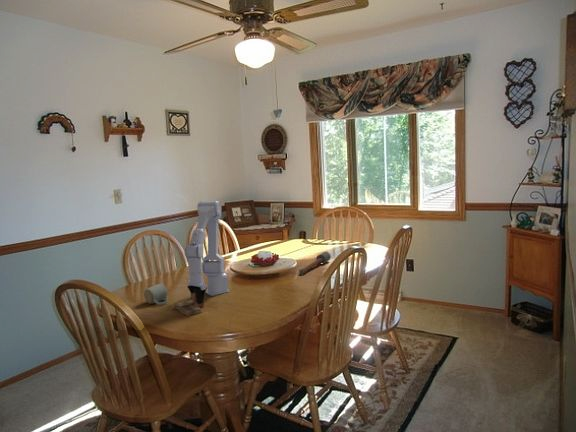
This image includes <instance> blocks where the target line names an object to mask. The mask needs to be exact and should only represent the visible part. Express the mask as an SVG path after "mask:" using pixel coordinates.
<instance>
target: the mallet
mask: <svg viewBox="0 0 576 432" xmlns="http://www.w3.org/2000/svg"><path fill="white" fill-rule="evenodd" d="M331 257H332V256H331V254H330V252H328V251H323V252H322V253H321V254H318V255H316V257H315V259H316V260H314V261H313V262H311V263H309V264H308V265H307V266H305V267H304V268H303V267H302V268H301V269H299V271H298V274H299V275H301V274H304V273H305V274H306V273H307V272H308V271H309V270H312V269H313V268H314V267H316V266H317V265H320V264H319V263H323V264H322V265H325V264H326V263H327V262H328V261H330V260H331ZM305 274H304V275H305Z"/></svg>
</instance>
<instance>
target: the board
mask: <svg viewBox="0 0 576 432" xmlns="http://www.w3.org/2000/svg"><path fill="white" fill-rule="evenodd" d="M185 301H186V300H184V301H183V300H182V302H185ZM180 302H181V301H179V302H175V303H174V306H173V307H174V308H175V309H176V310H178V311H179V312H180V313H182V314H184V315H185V316H186V317H191V316H194V315H197V314H201V313H202V309H201V308H202V307H201V308H199V307H197V306H196V305H194V304H192V303H191V304H187V305H183V306H180V305H179V303H180Z"/></svg>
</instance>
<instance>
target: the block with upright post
mask: <svg viewBox="0 0 576 432" xmlns="http://www.w3.org/2000/svg"><path fill="white" fill-rule="evenodd" d="M184 301H185V302H183V301H179V302H180V303H179V302H178V303H179V305H180V306H183V305H187V304H191V303H192V304H194V305H196V306H197V307H199V308H204V307H205V305H204V302H205V301H203V303H201V304H198V302H197V298H196V294H195V293H191V292H190V299H189V300H184Z"/></svg>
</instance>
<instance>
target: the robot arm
mask: <svg viewBox="0 0 576 432" xmlns="http://www.w3.org/2000/svg"><path fill="white" fill-rule="evenodd" d="M196 209H197V210H196V211H197V214H198V219H197V224H196V229H194V230H193V231H192V235H191V237H190V239H189V240H190V241H189V243H188V245H186V246H185V249H184V255H185V259H186V262H187V265H188V276H189V277H188V278H187V283H186V284H187V289H188V291H189V292H190V294H191V293H195V294H196V298H197V302H198V304H201V303H203V302H204V299H205V294H208V295H209V296H210V297H212V296H213V297H214V296H217V295H221V294H224V293H229V292H230V290H229V280H228V275H227V273H226V272H225V270H226V263H225V258H224V257H223V256H222V255H221V254H220V253H219V221H220V219H221V218H222V205H221V202H220V201H219V200H215V201H211V200H210V201H209V200H207V201H206V200H205V201H199V202H198V203H197V208H196ZM206 228H207V234H206V232H205V230H206ZM206 235H207V255H205V256H204V247H205V246H204V243H205V238H206ZM203 256H204V257H203ZM202 257H203V258H202ZM203 275H204V276H206V284H205V281H204V276H203Z"/></svg>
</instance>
